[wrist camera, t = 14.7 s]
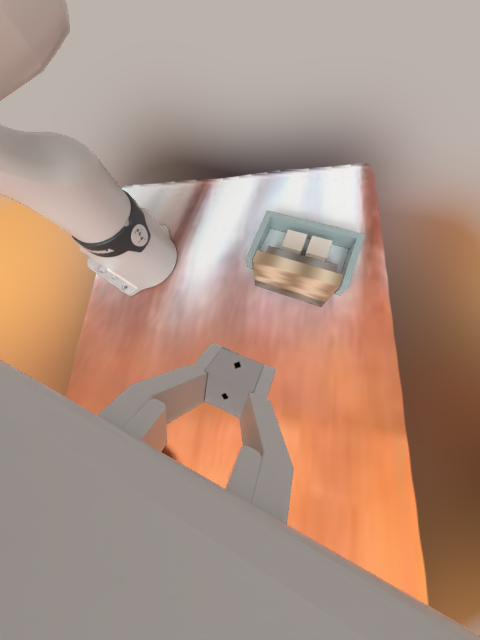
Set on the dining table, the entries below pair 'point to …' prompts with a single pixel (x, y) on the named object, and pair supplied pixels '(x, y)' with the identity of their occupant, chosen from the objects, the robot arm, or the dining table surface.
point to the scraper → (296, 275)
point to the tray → (312, 229)
